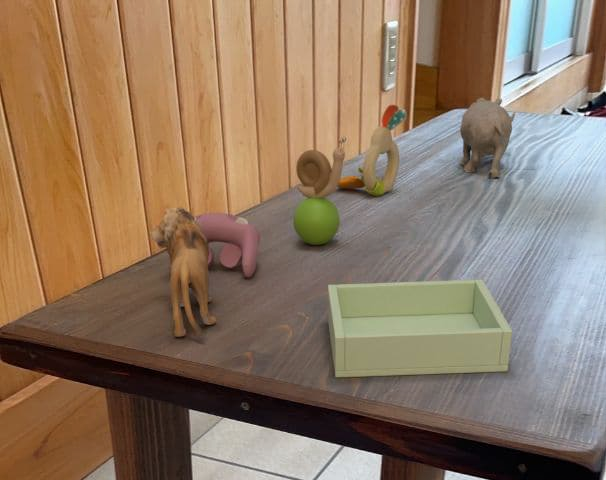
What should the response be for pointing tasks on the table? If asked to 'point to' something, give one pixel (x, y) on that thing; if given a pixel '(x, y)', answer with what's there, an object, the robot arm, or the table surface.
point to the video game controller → (231, 240)
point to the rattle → (379, 145)
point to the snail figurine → (318, 195)
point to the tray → (416, 329)
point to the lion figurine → (185, 265)
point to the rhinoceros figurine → (485, 134)
